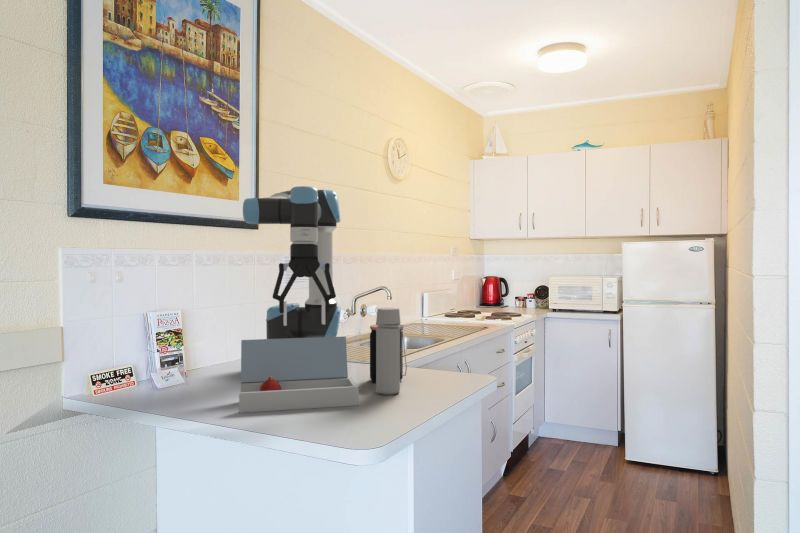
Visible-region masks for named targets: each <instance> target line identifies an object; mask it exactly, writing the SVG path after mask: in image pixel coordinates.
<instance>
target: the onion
mask: <svg viewBox="0 0 800 533" xmlns="http://www.w3.org/2000/svg"><path fill="white" fill-rule="evenodd" d="M275 390H282V389H281V386H280V384H279V383H278V382H277V381H276V380H274V379H273V377H272V376H269V377H268V380H266V381H265V382H264V383H263V384H262V385H261V387H260V391H275Z"/></svg>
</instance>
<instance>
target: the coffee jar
mask: <svg viewBox="0 0 800 533" xmlns="http://www.w3.org/2000/svg"><path fill="white" fill-rule="evenodd" d="M398 326H399V325H398ZM376 327H378V326H377V325H376V324H370V326H369V328H370V330H371V332H370V333H369V378H370V380H371V381H372V383H374V384H376ZM401 334H402V330H401V327H400V363H401ZM403 339H404V334H403V335H402V363H401V371H400V382H401V381H402V379H403V378H404V376H402V374H403V375H404V371H403V370H404V369H403V368H404V366H403V364H404V363H403V362H404V361H403V360H404V358H403V354H404V353H403V352H404V345H403ZM401 373H402V374H401Z"/></svg>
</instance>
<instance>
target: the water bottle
mask: <svg viewBox="0 0 800 533" xmlns="http://www.w3.org/2000/svg"><path fill="white" fill-rule="evenodd" d="M400 312H401V311H400V308H399V307H380V308H379V307H378V308H377V310H376V322H375V325H377V326H378V327H376V383H375V385H376V388H375V391H376V393H378V394H379V395H383V396H392V395H396V394H398V393H400V390H401V381H400V371H401V363H402V335H403V336H404V331H403V330H404V325H403V324H401V322H402V321H401V313H400ZM398 325H399V326H398ZM400 327H401V332H402V334H401V363H400ZM403 346H405V339H404V338H403ZM403 352H404V353H403V354H404V361H405V363H404V364H405V372H404V373H403V374H402V373H401V374H402V376H403V377H404V376H405V377H406V375H407V369H408V366H407V357H406V349H405V347H403Z"/></svg>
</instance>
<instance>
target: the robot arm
mask: <svg viewBox="0 0 800 533" xmlns="http://www.w3.org/2000/svg"><path fill="white" fill-rule="evenodd" d="M338 198H339V197H338V194H337V192H336V191H334V190H331V189H317V188H316V187H314V186H303V185H302V186H301V185H300V186H298V185H297V186H293V187H291V189H290V190H285V191H281V192H277V193H274V194H271V195H270V196H268V197H267V196H266V197H247V198H245V199H244V200H243V203H242V216H243V217H242V218H243V220H244V222H245V223H246V224H250V225H289V226H290V227H289V229H290V232H289V236H290V238H289V239H290V242H291V244H290V248H289V249H290V250H289V251H290V254H289V256H290V258H289V261H288V262H287V263H286V262H285V263H284V262H281V263H278V275H277V279H276V283H275V286H274V288H273V289H274V290H273V292H272V293H273V294H272V299H273V300H277V301H278V305H273V306H270V307H269V308H267V310H266V319H265V322H266V323H265V324H266V339H286V338H316V337H338V332H339V326H340V321H341V320H340V319H341V312H342V311H341V310H342V309H341V307H340V306H339V305H338V302H337V300H336V299H335V298H336V295H337V294H336V291H335V287H334V285H333V232H334V231H335V230H336V228H337V223H341V210H340V206H339V199H338ZM288 268H289V269H290V270H291V272H292V274H291V276H290V278H289V279H288V281H287V283H286V285H285V287H284V288H283V291H282V293H281V294H280V295H279V292H280V288H281V284H282V281H283V277H284V273H285V271H286V272H287V269H288ZM303 277H304V278H308V298H307V299H306V300H305V301H304V306H300V304H299V302H296V303H295V302H293V303H287V302H288V301H287V300H285V299H286V297H287V295H288V293H289V291H291V288H292V287H293V284H294V283H295V281H296V279H297V278H303Z"/></svg>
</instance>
